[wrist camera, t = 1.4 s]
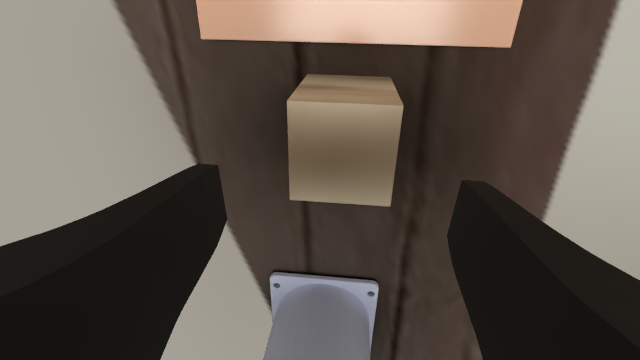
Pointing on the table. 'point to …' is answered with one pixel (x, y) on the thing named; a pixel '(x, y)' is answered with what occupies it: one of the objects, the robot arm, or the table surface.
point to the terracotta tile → (363, 21)
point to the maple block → (343, 139)
